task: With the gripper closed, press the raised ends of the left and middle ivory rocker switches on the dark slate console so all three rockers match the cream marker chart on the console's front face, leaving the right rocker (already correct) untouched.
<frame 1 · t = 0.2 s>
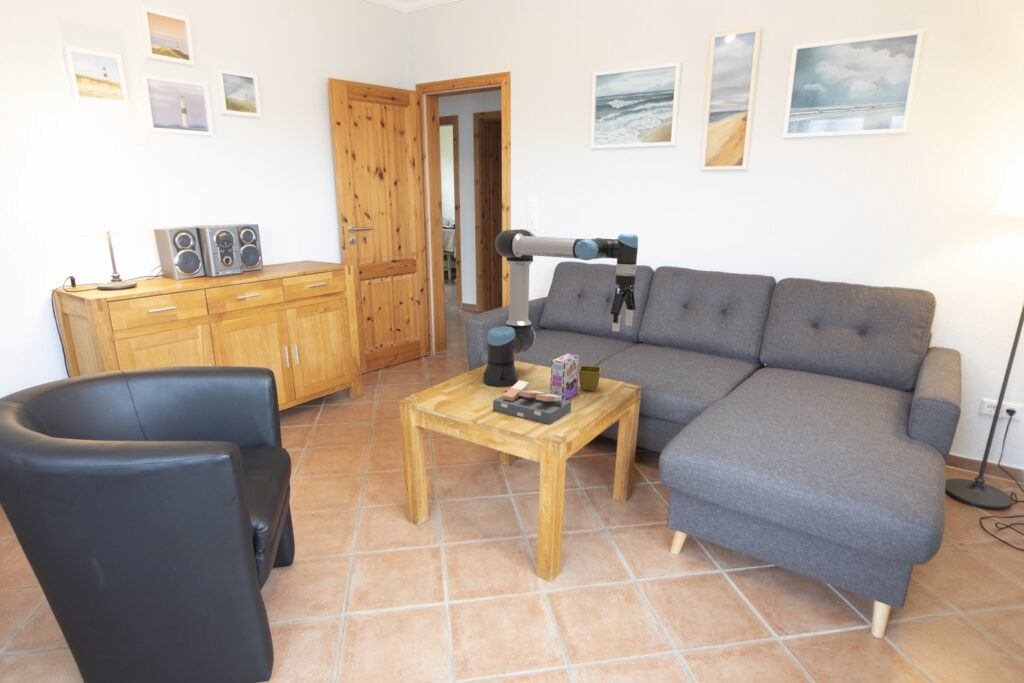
hand: (622, 328, 222), 28 cm above the table, fingers open, 13 cm apart
candy box: (563, 397, 224), on the table
rocker left: (516, 390, 209), point 7 cm above the table, hinge at 14.0°
rocker middle: (532, 394, 206), point 7 cm above the table, hinge at -14.0°
console: (531, 411, 207), on the table
flower pot: (588, 389, 235), on the table
rocker right: (549, 397, 202), point 7 cm above the table, hinge at -14.0°
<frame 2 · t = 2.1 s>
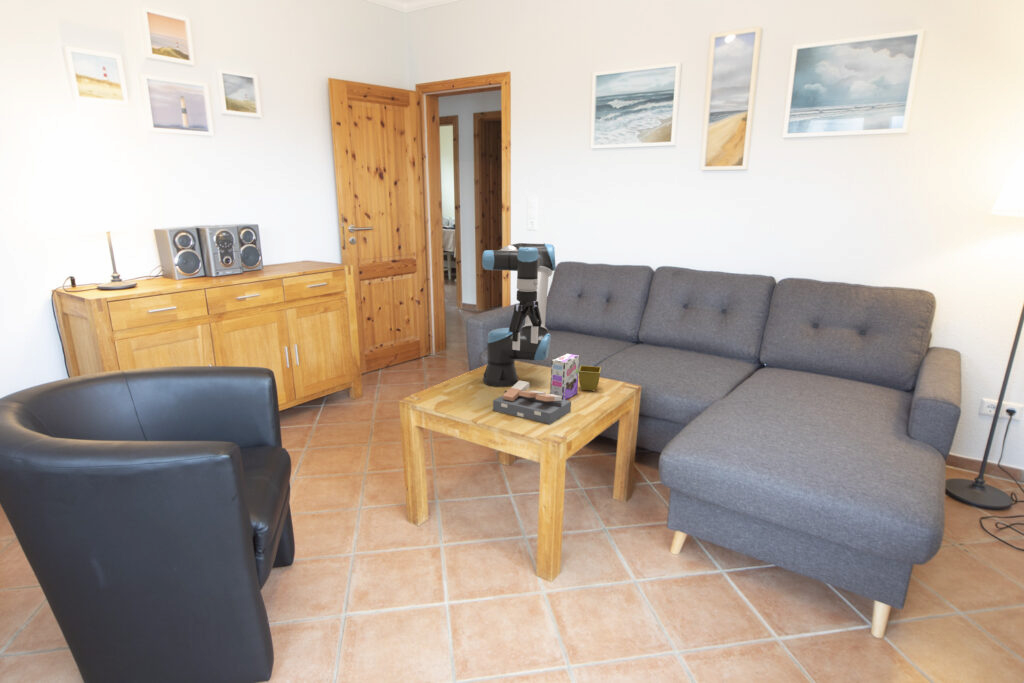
hand: (525, 346, 210), 23 cm above the table, fingers open, 13 cm apart
nothing on the table moved.
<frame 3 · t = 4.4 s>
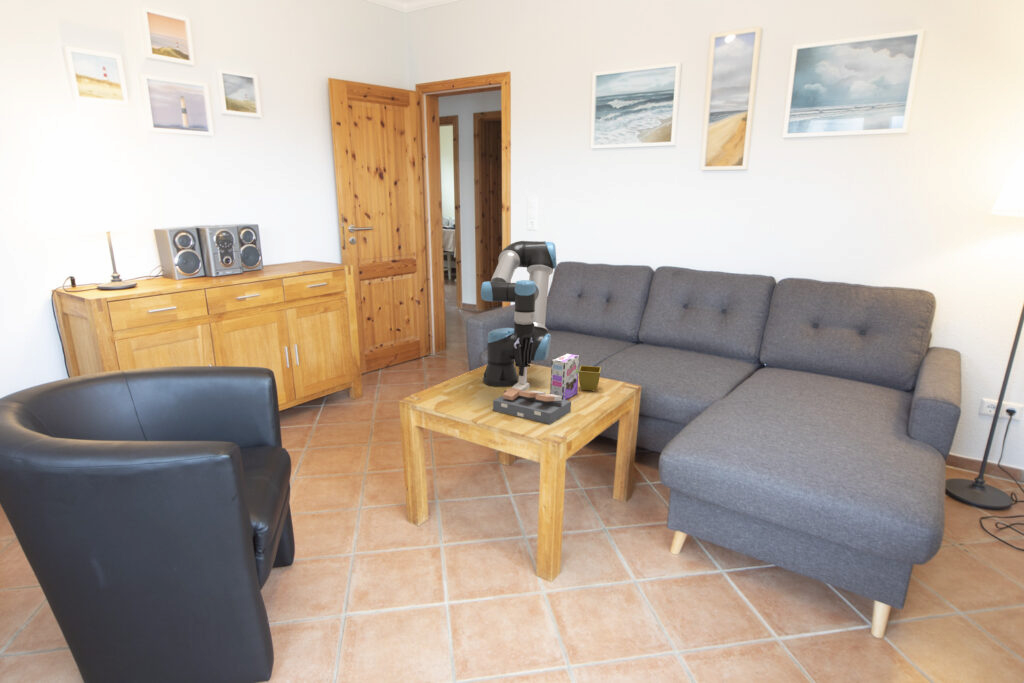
hand: (522, 383, 212), 8 cm above the table, fingers closed
rocker left: (516, 390, 209), point 7 cm above the table, hinge at 10.5°, touching gripper
everything else where it was.
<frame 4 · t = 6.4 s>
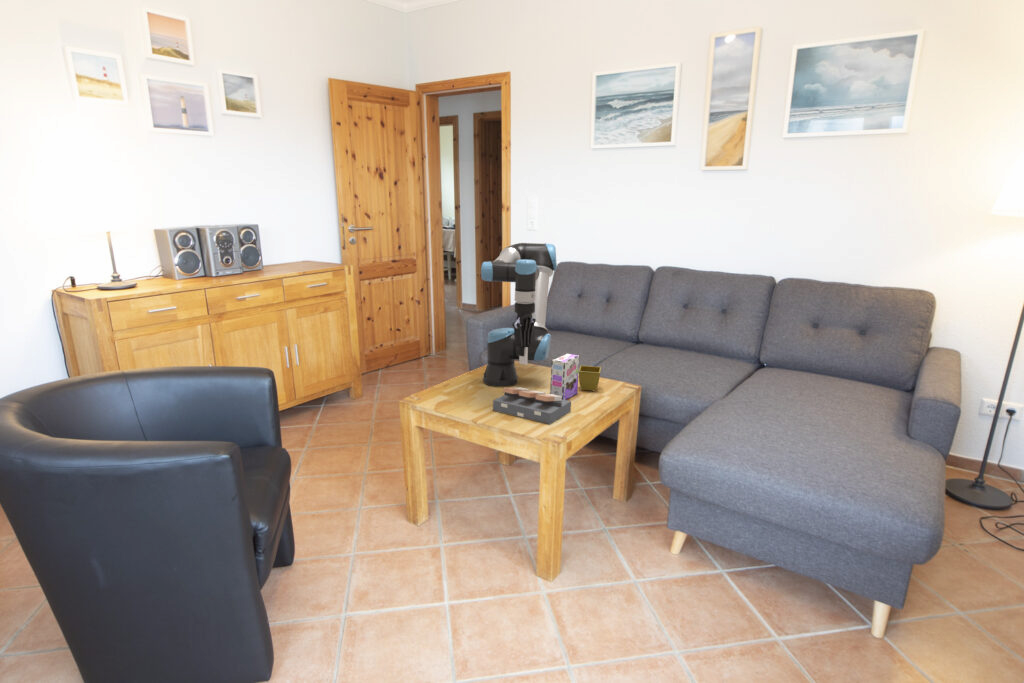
hand: (523, 363, 211), 16 cm above the table, fingers closed
rocker left: (516, 390, 209), point 7 cm above the table, hinge at -14.3°
everything else where it was.
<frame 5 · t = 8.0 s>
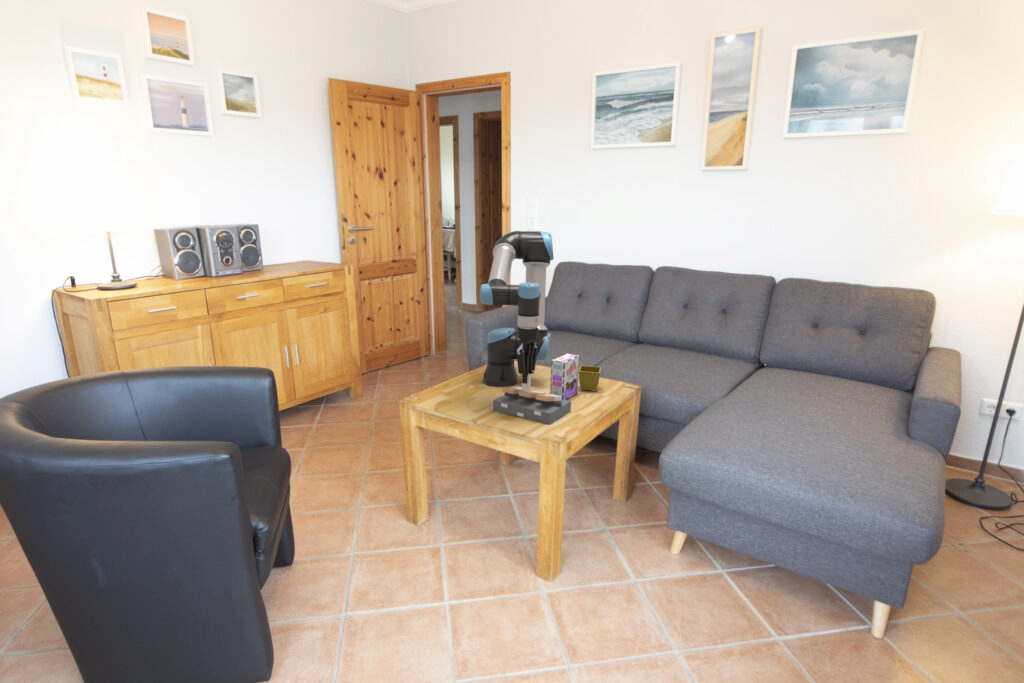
hand: (526, 391, 201), 9 cm above the table, fingers closed
rocker middle: (532, 394, 206), point 7 cm above the table, hinge at -14.0°, touching gripper
everything else where it was.
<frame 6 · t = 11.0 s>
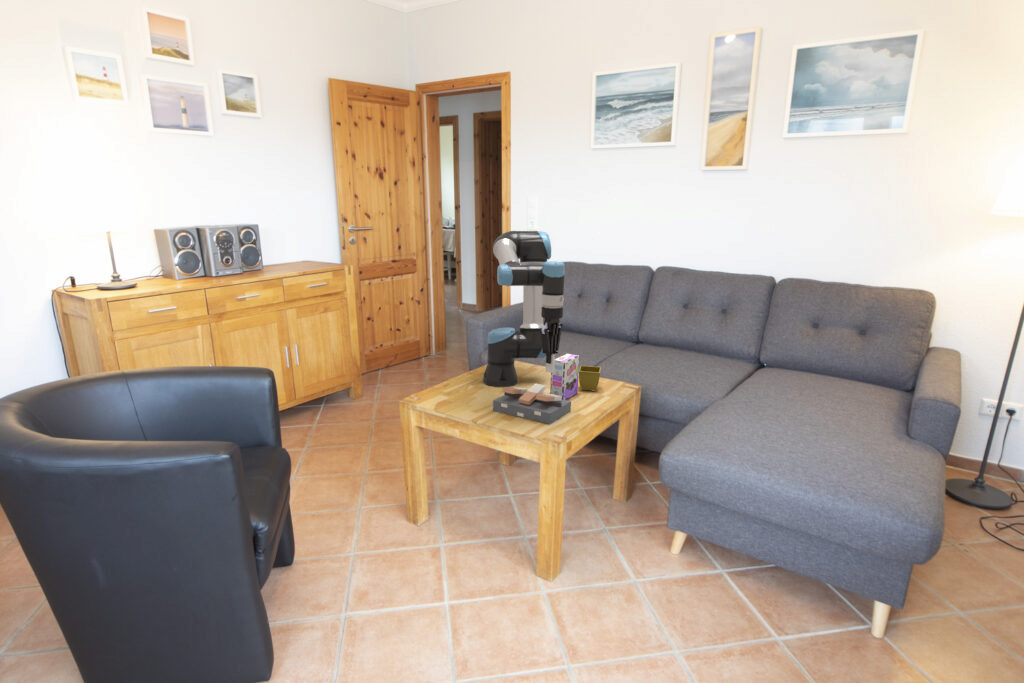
hand: (549, 371, 200), 16 cm above the table, fingers closed
rocker middle: (532, 394, 206), point 7 cm above the table, hinge at 14.2°
everything else where it was.
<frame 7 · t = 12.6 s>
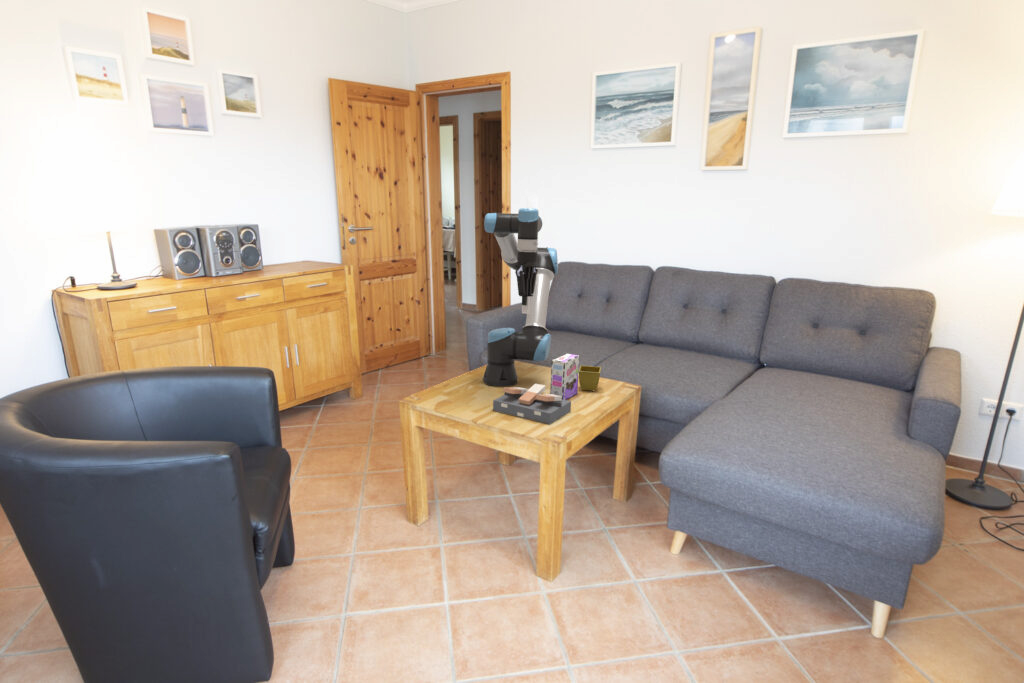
hand: (525, 313, 213), 34 cm above the table, fingers closed
nothing on the table moved.
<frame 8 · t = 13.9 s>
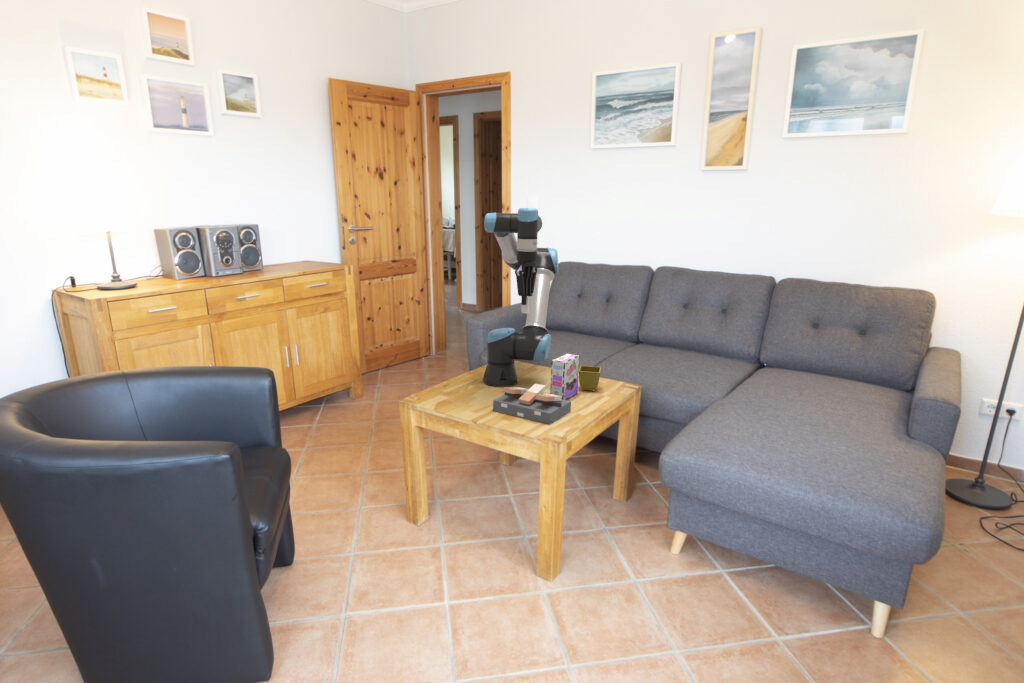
hand: (525, 313, 213), 34 cm above the table, fingers closed
nothing on the table moved.
at the end: rocker left at -14° (first picture: +14°); rocker middle at +14° (first picture: -14°); rocker right at -14° (first picture: -14°) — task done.
